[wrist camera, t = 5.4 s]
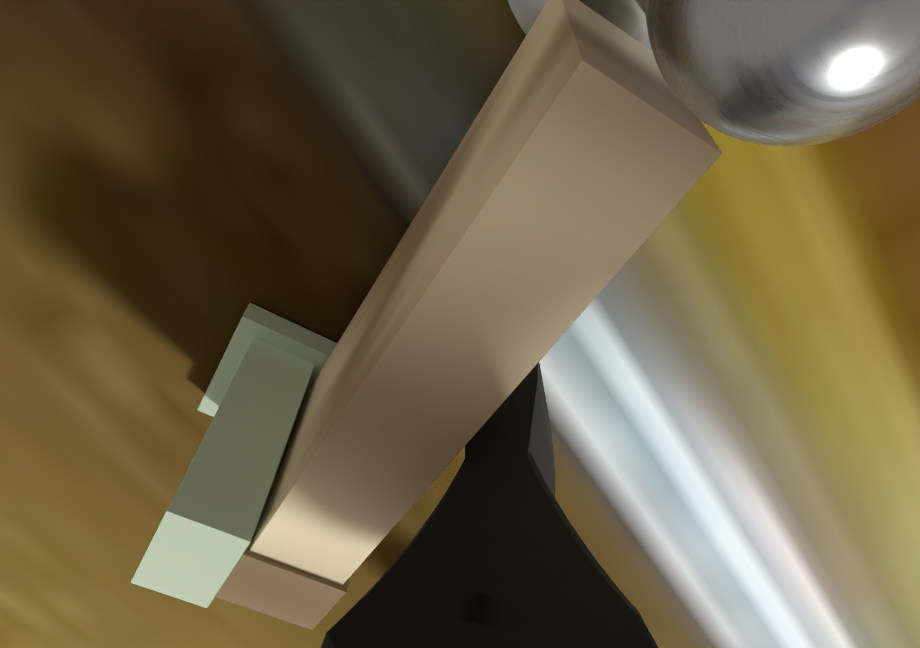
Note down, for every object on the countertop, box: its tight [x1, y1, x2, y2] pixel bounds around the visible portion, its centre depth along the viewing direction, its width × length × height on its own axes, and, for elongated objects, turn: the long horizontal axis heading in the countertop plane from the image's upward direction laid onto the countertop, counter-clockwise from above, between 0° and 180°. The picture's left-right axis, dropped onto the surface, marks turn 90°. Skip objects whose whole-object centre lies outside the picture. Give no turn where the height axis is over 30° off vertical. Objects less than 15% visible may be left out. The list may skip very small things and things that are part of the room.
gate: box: [215, 0, 722, 630], centre depth 11 cm, size 11×2×4 cm, turn 150°
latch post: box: [131, 303, 337, 608], centre depth 13 cm, size 3×2×5 cm
